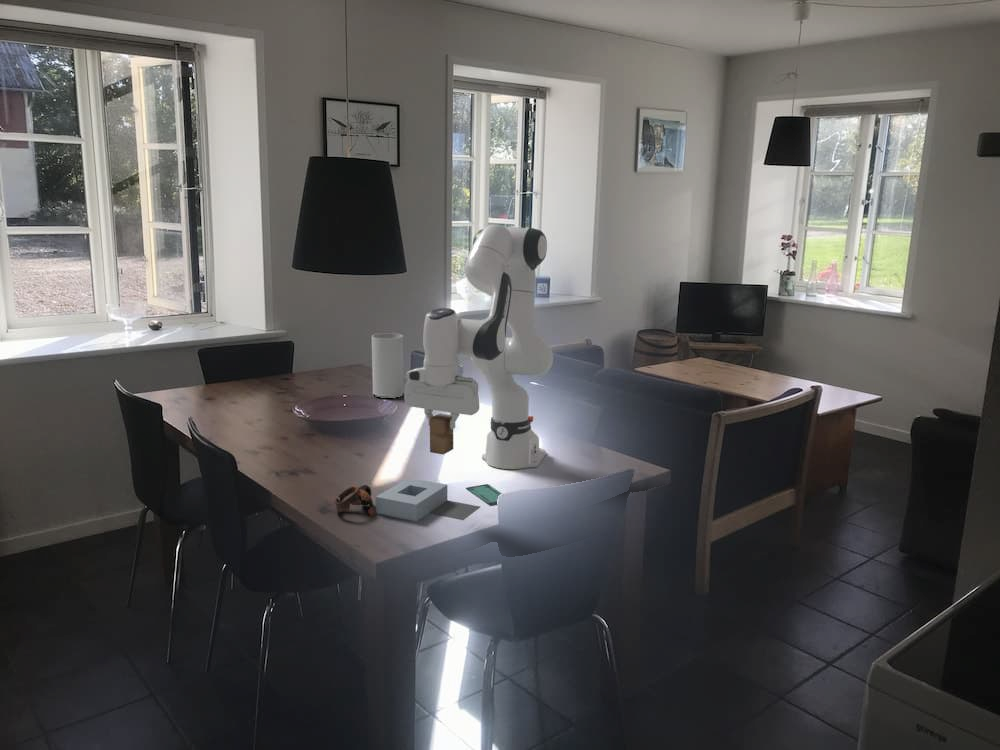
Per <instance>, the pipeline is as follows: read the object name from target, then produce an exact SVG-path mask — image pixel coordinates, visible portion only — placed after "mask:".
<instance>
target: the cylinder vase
mask: <svg viewBox="0 0 1000 750" xmlns="http://www.w3.org/2000/svg"><path fill="white" fill-rule="evenodd" d="M403 339H404V335H403V334H400V333H391V332H389V333H388V332H387V333H385V332H384V333H375V334H372V335H371V364H372V365H371V368H372V369H371V370H372V371H371V373H372V395H373V394H375V395H377V396H389V397H395V396H400V395H403V396H404V394H405V387H404V340H403ZM403 393H404V394H403Z"/></svg>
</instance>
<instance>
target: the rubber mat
mask: <svg viewBox="0 0 1000 750" xmlns="http://www.w3.org/2000/svg"><path fill="white" fill-rule="evenodd" d="M480 508H481V506H479V505H474V504H469V503H463V502H459V501H454V500H453V501H452V500H448V499H447V501H446V502H444V503H443V504H441V505H440V506H438V507H437V508H435V509H434V510H432V511H431V512H429V513H428V514H431V515H435V516H441V517H446V518H451V519H456V520H461V521H464V520H465V519H466V518H468V517H469V516H470V515H472V514H473V513H475V512H476V511H478V510H479V509H480Z"/></svg>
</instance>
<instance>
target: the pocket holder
mask: <svg viewBox="0 0 1000 750" xmlns="http://www.w3.org/2000/svg"><path fill="white" fill-rule="evenodd" d="M447 500H448V484H445V483H440V482H435V481H429V480H423V479H418V478H412V477H408V478H407V477H406V479H405V480H402V481H401V482H399V483H397V484H396V485H394V486H391V487H390V488H388V489H386V490H385V491H383V492H381V493H380V494H378V495H376V496H375V510H376V513H375V514H379V515H383V516H387V517H393V518H397V519H402V520H407V521H408V520H409V521H411V522H418V521H420V520H421V519H422V518H423V517H425V516H428V514H430V513H429V512H431V511H432V510H434V509H435V508H437V507H438V506H440V505H441V504H443V503H444V502H446V501H447Z"/></svg>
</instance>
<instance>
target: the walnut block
mask: <svg viewBox="0 0 1000 750" xmlns="http://www.w3.org/2000/svg"><path fill="white" fill-rule="evenodd" d="M452 417H453V416H451V414H445V413H438V414H436V415H433V417H431V418H430V426H429V453H432V454H438V455H445V454H447V453H449V452H451V451H453V450H454V429H448V428H447V422H449V421H451V419H452Z"/></svg>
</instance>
